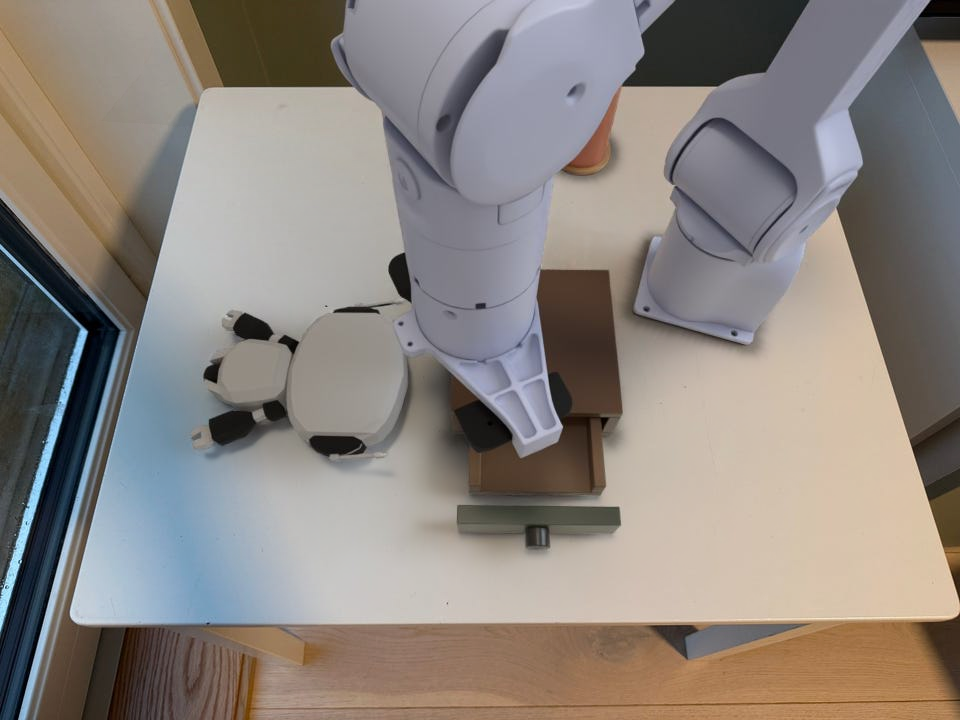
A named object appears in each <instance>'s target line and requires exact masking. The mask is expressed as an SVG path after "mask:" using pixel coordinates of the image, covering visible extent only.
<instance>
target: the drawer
mask: <svg viewBox="0 0 960 720" xmlns="http://www.w3.org/2000/svg"><path fill="white" fill-rule="evenodd" d="M560 422H561V424H562V426H563V428H562V431H561V434H560V437H559V440H558V442H557V443H554V444H552V445H550V446H548V447H546V448H544V449H541V450H539V451H537V452H535V453H532V454H530V455H527V456H525V457H523V458H520V457H519V455H518V453H517V451H516V449H515V447H514V445H513V443H512V441H511V442H509V443H506V444H504V445H502V446H500V447H497V448H495V449H493V450H490V451H486V452H481V453H478V452H476V451H475V450H474V449H473V448H472V447H471V446H470V444H469V443H468V494H469V495H489V496H490V495H492V496H493V495H495V496H497V495H499V496H500V495H501V496H502V495H503V496H588V497H589V496H591V497H592V496H595V497H597V496H598V497H601V495H602V494H603V493H604V491H605V489H606V487H607V479H606V478H607V477H606V466H605V455H604V453H605V452H604V443H603V442H604V441H603V436H602V428H601V417H565V418H563V419H561V420H560ZM456 526H457V532H458V533H483V534H484V533H493V534H494V533H495V534H496V533H497V534H500V533H501V534H524V547H525V549H527V550H529V551H530V550H532V551H545V550H549V549H550V548H551V534H583V535H584V534H585V535H586V534H587V535H588V534H589V535H590V534H591V535H592V534H593V535H595V534H597V535H600V534H601V535H612V534H614V533H615V532H616V531H617V530H618V529H619V528H620V527H621V526H622V517H621V507H620V506H594V505H593V506H592V505H591V506H585V505H583V506H581V505H577V506H575V505H495V504H494V505H489V504H488V505H487V504H485V505H484V504H482V505H479V504H458V505H456Z"/></svg>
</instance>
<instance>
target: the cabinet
mask: <svg viewBox="0 0 960 720" xmlns="http://www.w3.org/2000/svg"><path fill="white" fill-rule="evenodd" d="M536 298H537V302H538V309H539V316H540V324H541V331H542V338H543V345H544V352H545V360H546V367H547V374H550V373H553V372H558V373H559V375H560V376H561V378H562V380H563V382H564V383H565V385H566V387H567V389H568V391H569V392H570V394H571V397H572V402H573V404H572V409H571V411H570V413H569V415H568V416H566V417H601V428H602V437H610V436H612V434H613V432H614V430H615V428H616V427H617V425H618V424H619V422H620V420H621V417H622V416H623V414H624V409H623V399H622V397H623V396H622V390H621V389H622V388H621V377H620V369H619V368H620V367H619V357H618V348H617V347H618V346H617V337H616V329H615V317H614V307H613V299H612V298H613V297H612V288H611V278H610V270H609V269H548V268H547V269H546V268H545V269H544V268H543V269H542V268H541V269H540V276H539V283H538V289H537V296H536ZM450 376H451V378H450V379H451V380H450V407H449V408H450V409H449V413H450V421H451V430H452V434H453V435H456V436H457V435H460V436H461V435H462V436H463V435H464V433H463V431H462V429H461V427H460V425H459V423H458V420H457V418H456V416H455V414H454V410H455V409H458V408H460V407H462V406H465V405H467V404H470V403H472V402H474V401H477V400H479V399H478V398H477V397H476V396H475V395H474V394H473V393H472V392H471V391H470V390H469V389H468V388H467V387H466V386H465V385H464V384H462V383H461V382H460V381H459V380H458V379H457V378H456V377H455V376H454V375H453V374H452V373H451V375H450ZM464 436H465V435H464Z"/></svg>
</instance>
